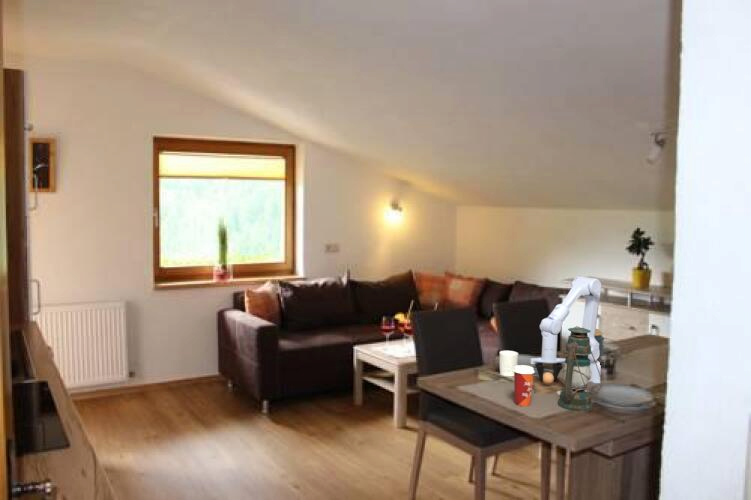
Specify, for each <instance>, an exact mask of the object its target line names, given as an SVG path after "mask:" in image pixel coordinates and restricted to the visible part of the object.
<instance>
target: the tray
mask: <svg viewBox="0 0 751 500" xmlns="http://www.w3.org/2000/svg"><path fill="white" fill-rule="evenodd" d="M564 387H565V380H564V379H562V378H561V377H557V380H556V382H554V381H553V383H551V384H545V383H543V382H540V380H539V377H533V384H532V390H533V393H534V394H536V395H537V394H539V395H540V394H542V395H543V394H546V395H547V394H548V395H551V394H552V395H558V394H557V391H563V390H562V389H563V388H564Z"/></svg>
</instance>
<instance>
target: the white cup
mask: <svg viewBox="0 0 751 500" xmlns="http://www.w3.org/2000/svg"><path fill="white" fill-rule="evenodd" d="M518 362H519V352H517V351H514V350H500V351H499V374H500V375H501V376H503V377H514V371H513V370H514V368H515V366H517V365H519V363H518Z"/></svg>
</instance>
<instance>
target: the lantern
mask: <svg viewBox="0 0 751 500" xmlns="http://www.w3.org/2000/svg"><path fill="white" fill-rule="evenodd" d="M567 330H568V331H569V332H570V335H568V338H567V342H566V343H565V349H564V350H563V351H564V352H566V353H567V356H566V357H565V359H566V360H565V361H564V362H565V364H564V367H563V371H562V372H563V374H562V376H563V381H564V382H565V387H564V388H563V389H562V390H563V391H561V392H560V395H559V398H558V400H557V406H558V407H560V408H562V409H563V410H567V411H572V412H589V411H588V410H590V411H592V410H593V409H594V404H593V402H592V394H593V395H594V394H595V393H596V394H598V392H599V390H601V388H602V386H603V379H602V376H601V374H600V372H599V370H598V372H599V376H600V382H601V383H600V387H598V388H597V389H596V390H594V391H593V392H590V390H589V389H588V388H587V386H588V381H590V379H591V376H592V372H591V370H590V365H591V363H590V359H588V355H590V354H592V351H591V345H590V338H589V337H587V336H588V335H587V333H590V332H591V331H590V330H588V329H585V328H582V327H580V326H578V325H577V326H573V327H569V328H567ZM592 356H593V354H592ZM593 359H594V356H593ZM594 361H595V359H594ZM595 364H596V361H595ZM596 367H597V364H596ZM597 369H598V367H597ZM590 373H591V375H590ZM590 382H591V381H590ZM585 390H587V391H588V390H589V391H588V392H585ZM592 408H593V409H592ZM591 409H592V410H591Z"/></svg>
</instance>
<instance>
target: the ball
mask: <svg viewBox="0 0 751 500" xmlns="http://www.w3.org/2000/svg"><path fill="white" fill-rule="evenodd" d="M553 381H554V376H553V375H552V374H551V373H549V372H546V373H544V374H543V383H545V384H551V383H553Z"/></svg>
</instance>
